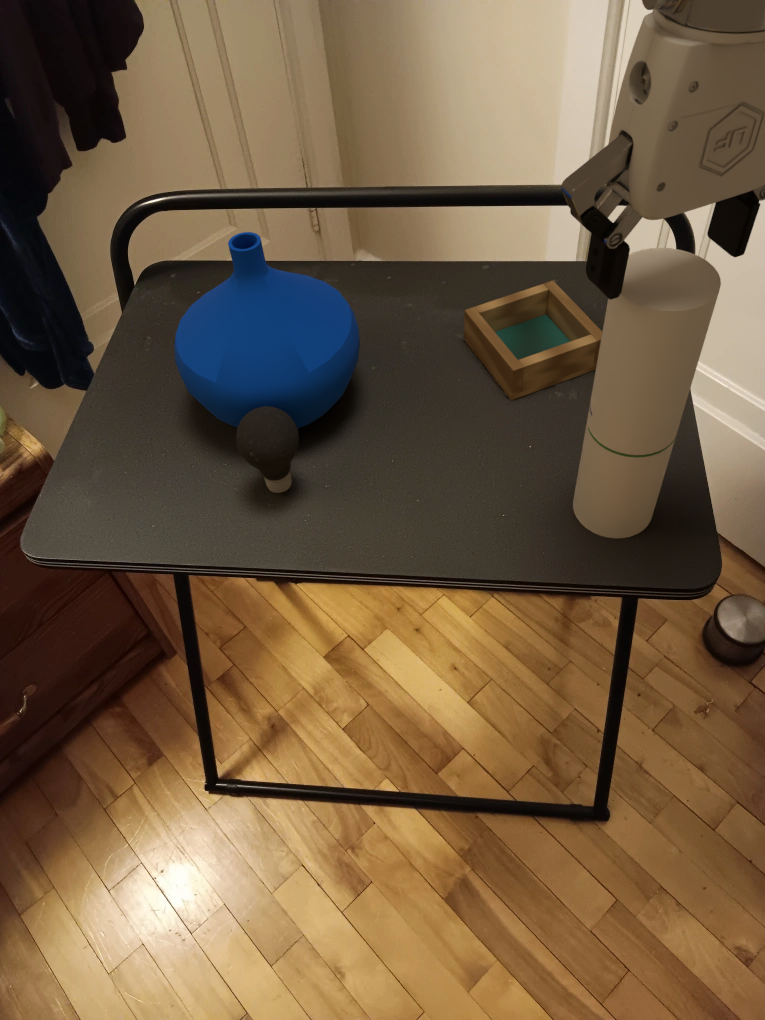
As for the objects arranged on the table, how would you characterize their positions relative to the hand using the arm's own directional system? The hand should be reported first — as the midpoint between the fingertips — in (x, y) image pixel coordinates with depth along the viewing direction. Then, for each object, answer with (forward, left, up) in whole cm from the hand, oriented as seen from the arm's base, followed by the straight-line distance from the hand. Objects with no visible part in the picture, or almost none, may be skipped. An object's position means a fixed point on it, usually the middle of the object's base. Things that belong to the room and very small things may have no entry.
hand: (664, 266), depth 56 cm
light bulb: (+27, -16, -26) cm, 41 cm away
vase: (+23, -28, -26) cm, 44 cm away
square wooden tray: (-4, -22, -26) cm, 34 cm away
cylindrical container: (0, 0, -26) cm, 26 cm away
